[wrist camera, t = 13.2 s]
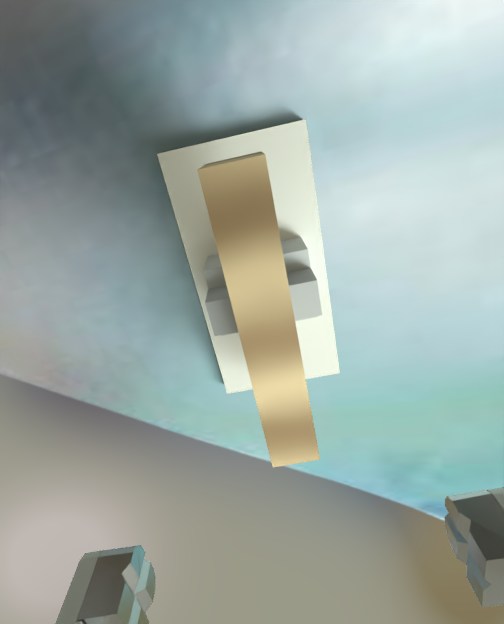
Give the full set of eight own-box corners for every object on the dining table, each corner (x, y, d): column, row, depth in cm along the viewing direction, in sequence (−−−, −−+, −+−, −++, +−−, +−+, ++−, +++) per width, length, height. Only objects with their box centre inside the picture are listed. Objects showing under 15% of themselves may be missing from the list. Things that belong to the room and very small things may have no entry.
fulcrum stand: (160, 153, 26) (134, 158, 20) (303, 119, 25) (323, 113, 19) (227, 385, 34) (224, 441, 28) (336, 365, 34) (358, 418, 27)
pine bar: (205, 163, 20) (197, 169, 16) (261, 151, 20) (265, 154, 16) (268, 423, 27) (272, 467, 24) (309, 416, 27) (319, 459, 24)
